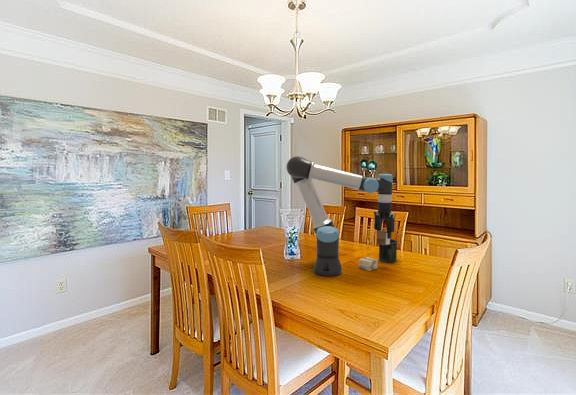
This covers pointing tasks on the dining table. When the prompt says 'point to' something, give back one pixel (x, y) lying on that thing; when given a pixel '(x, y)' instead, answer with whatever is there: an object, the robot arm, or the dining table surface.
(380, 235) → the walnut block
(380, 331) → the dining table surface
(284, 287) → the dining table surface
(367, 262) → the pale grey block
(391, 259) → the mug
